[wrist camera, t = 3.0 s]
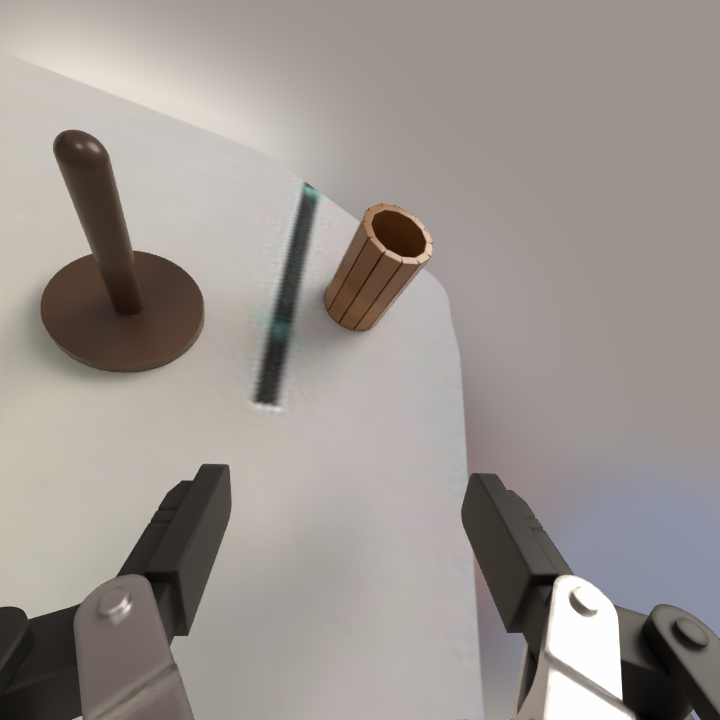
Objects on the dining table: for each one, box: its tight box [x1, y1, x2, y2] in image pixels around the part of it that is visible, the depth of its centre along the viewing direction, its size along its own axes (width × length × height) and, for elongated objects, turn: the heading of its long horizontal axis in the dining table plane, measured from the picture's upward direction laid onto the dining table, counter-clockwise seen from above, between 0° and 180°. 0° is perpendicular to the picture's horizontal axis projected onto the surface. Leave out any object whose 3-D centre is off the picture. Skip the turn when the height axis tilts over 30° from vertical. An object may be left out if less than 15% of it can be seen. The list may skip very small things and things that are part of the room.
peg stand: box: [41, 130, 204, 372], centre depth 20 cm, size 10×10×14 cm
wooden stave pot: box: [324, 204, 433, 331], centre depth 31 cm, size 6×6×10 cm
